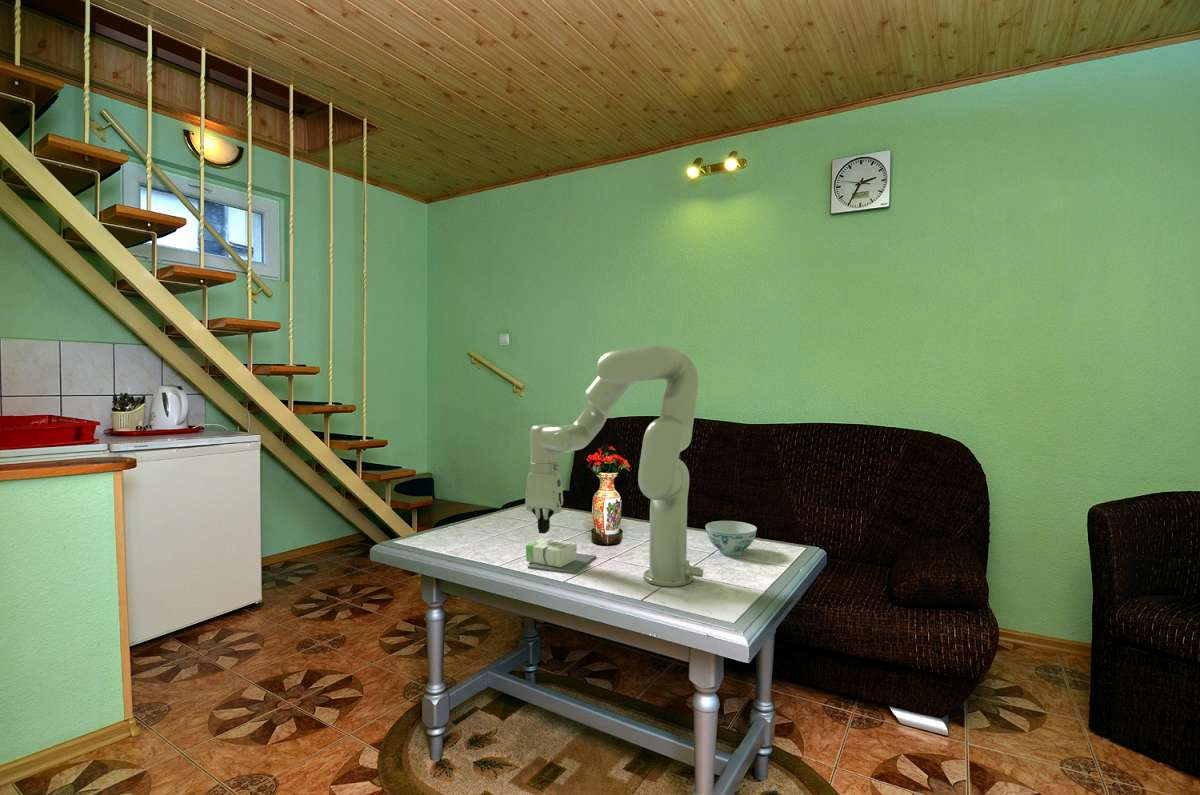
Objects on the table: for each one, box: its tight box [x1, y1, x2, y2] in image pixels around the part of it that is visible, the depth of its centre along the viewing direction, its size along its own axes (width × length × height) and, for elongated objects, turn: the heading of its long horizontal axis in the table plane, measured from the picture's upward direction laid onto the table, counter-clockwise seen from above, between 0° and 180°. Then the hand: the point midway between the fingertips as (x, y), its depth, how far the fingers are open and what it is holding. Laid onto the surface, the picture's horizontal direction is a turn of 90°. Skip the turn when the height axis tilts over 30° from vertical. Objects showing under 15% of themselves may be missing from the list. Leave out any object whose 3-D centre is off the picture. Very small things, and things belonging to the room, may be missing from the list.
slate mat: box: [527, 552, 597, 575], centre depth 165 cm, size 14×16×1 cm
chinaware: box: [705, 520, 758, 557], centre depth 176 cm, size 15×15×8 cm
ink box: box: [525, 537, 578, 567], centre depth 165 cm, size 9×5×12 cm
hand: (543, 532), depth 167 cm, fingers closed
